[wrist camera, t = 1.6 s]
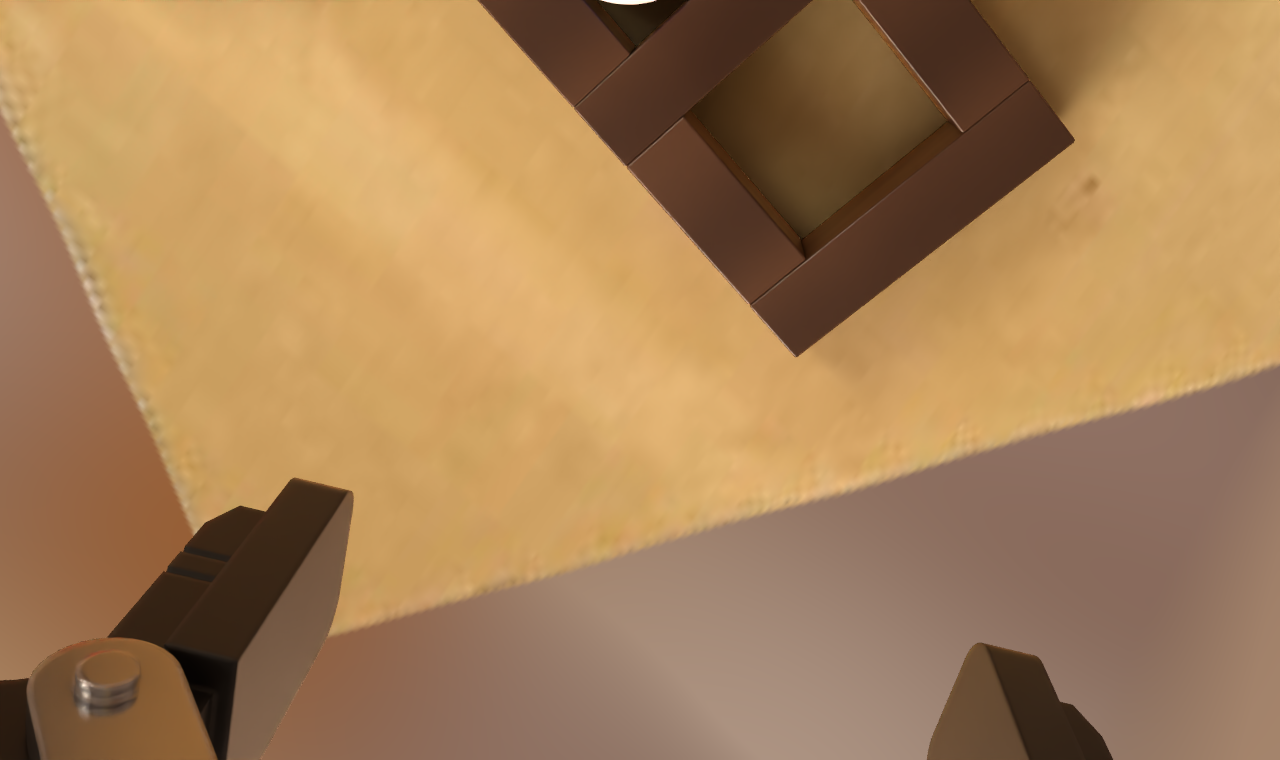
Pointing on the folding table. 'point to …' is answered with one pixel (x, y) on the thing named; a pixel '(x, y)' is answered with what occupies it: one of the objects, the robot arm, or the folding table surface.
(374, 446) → the folding table surface
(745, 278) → the peg board
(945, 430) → the folding table surface
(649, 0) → the pill bottle
